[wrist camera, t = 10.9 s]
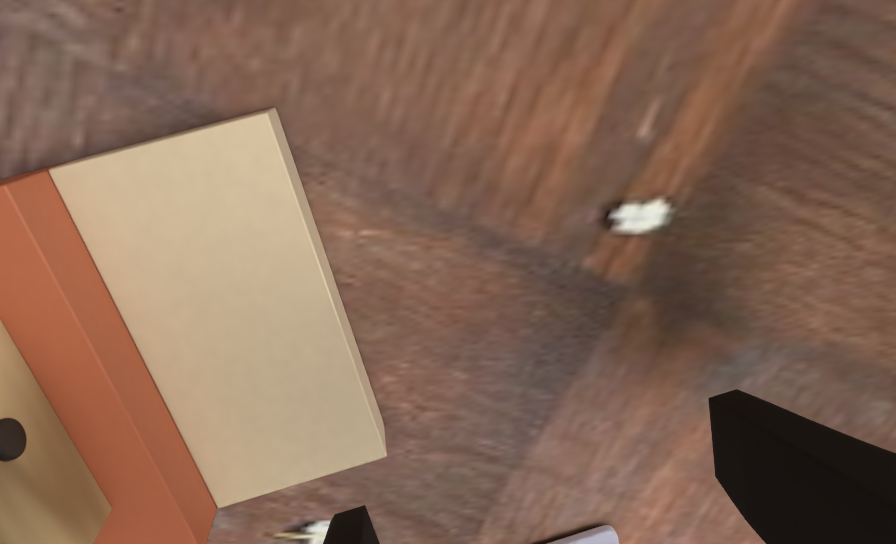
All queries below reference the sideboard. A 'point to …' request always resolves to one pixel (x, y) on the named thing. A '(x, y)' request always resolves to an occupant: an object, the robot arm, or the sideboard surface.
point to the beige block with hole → (40, 465)
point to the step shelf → (185, 325)
